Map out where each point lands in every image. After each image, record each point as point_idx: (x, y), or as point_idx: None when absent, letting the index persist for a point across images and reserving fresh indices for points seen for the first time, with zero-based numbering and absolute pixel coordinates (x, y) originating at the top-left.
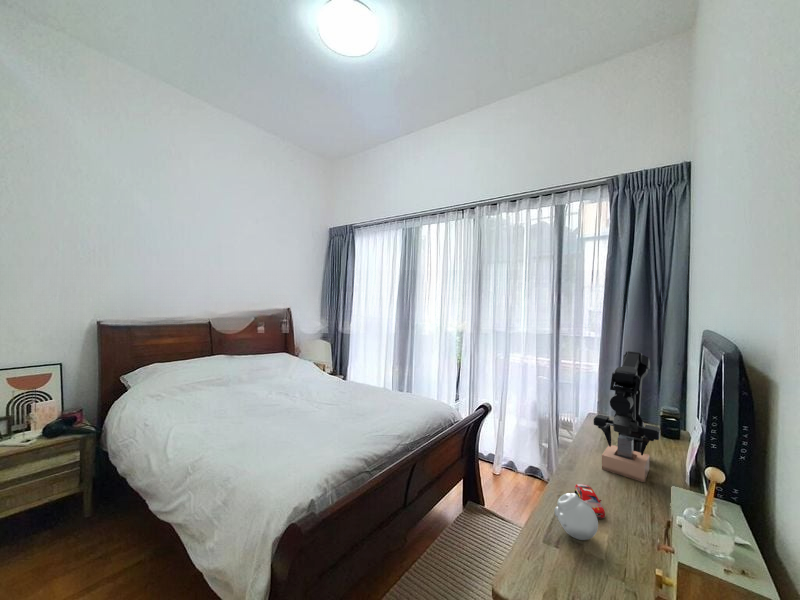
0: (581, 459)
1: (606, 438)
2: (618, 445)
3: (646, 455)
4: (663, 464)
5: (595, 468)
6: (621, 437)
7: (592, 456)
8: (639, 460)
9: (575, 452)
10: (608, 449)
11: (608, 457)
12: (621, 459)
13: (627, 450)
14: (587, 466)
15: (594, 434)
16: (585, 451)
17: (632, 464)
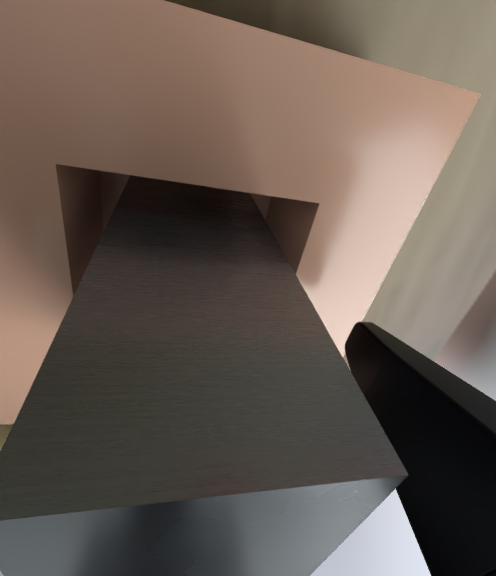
0: (477, 188)
1: (485, 395)
2: (306, 318)
3: (8, 402)
4: (4, 427)
5: (424, 61)
6: (297, 532)
7: (382, 285)
8: (6, 223)
9: (473, 276)
10: (345, 315)
11: (401, 72)
12: (234, 80)
13: (155, 277)
14: (484, 62)
15: None
16: (405, 324)
17: None
